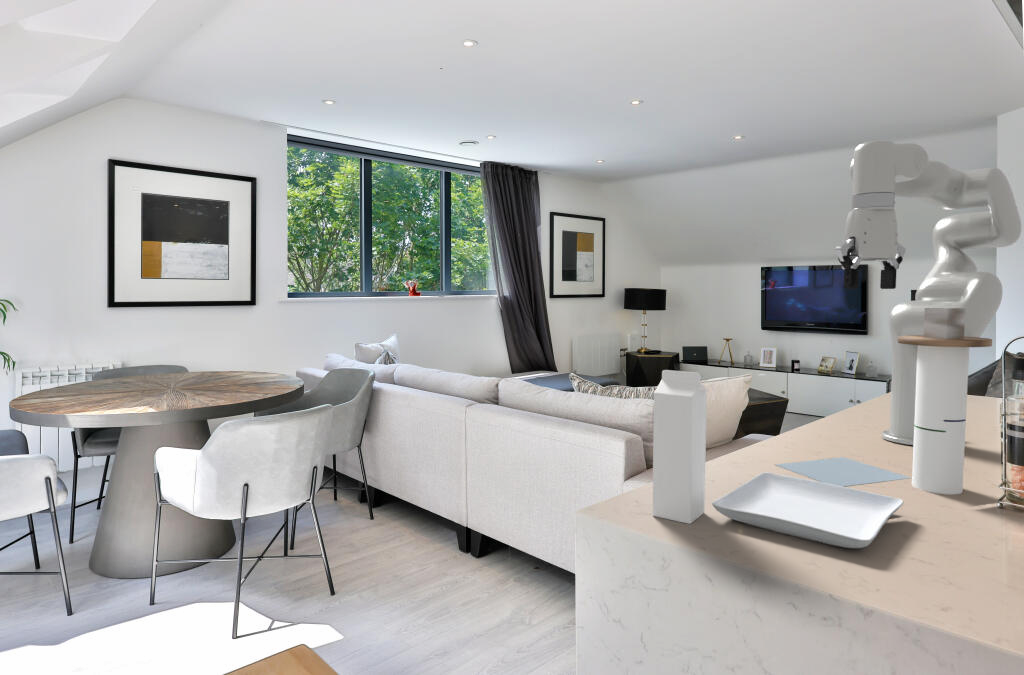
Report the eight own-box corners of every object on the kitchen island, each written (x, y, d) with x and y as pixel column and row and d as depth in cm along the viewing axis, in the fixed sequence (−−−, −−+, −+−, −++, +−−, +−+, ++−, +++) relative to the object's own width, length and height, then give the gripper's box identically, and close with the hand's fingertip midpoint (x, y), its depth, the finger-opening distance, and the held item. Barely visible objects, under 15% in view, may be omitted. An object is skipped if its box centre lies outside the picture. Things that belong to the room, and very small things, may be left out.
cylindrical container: (970, 498, 103) (978, 345, 101) (922, 495, 104) (928, 345, 102) (949, 485, 110) (956, 342, 108) (904, 482, 111) (910, 341, 109)
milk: (667, 505, 100) (669, 367, 99) (705, 513, 96) (707, 370, 95) (651, 516, 95) (653, 371, 94) (690, 524, 92) (692, 374, 90)
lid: (935, 340, 113) (936, 306, 113) (1011, 345, 101) (1013, 308, 101) (879, 342, 109) (880, 307, 109) (952, 348, 97) (954, 309, 97)
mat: (843, 459, 127) (843, 457, 127) (911, 480, 113) (911, 477, 112) (774, 467, 121) (774, 464, 121) (836, 490, 107) (836, 487, 107)
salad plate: (869, 565, 79) (870, 538, 78) (708, 524, 93) (708, 501, 93) (905, 519, 94) (906, 497, 94) (762, 490, 109) (763, 470, 108)
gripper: (889, 208, 134) (886, 289, 135) (824, 205, 129) (822, 289, 130) (921, 203, 127) (918, 288, 128) (854, 200, 122) (851, 288, 123)
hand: (869, 288), depth 129 cm, fingers open, 9 cm apart
